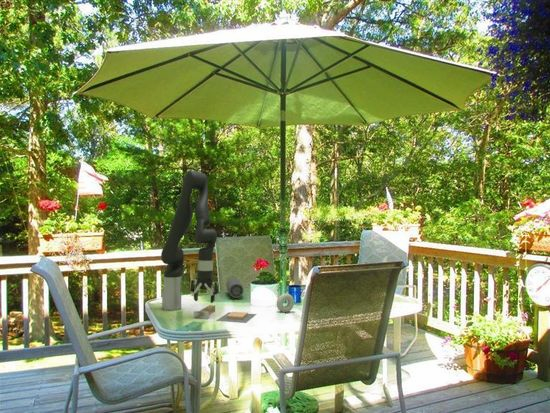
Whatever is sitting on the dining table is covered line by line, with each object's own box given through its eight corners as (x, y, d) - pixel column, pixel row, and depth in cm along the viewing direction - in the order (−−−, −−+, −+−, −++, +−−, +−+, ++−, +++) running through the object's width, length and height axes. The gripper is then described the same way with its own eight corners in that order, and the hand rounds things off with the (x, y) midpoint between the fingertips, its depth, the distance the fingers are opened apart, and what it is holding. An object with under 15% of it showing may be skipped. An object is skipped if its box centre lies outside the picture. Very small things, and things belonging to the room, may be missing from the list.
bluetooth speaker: (225, 292, 295) (225, 277, 295) (240, 292, 297) (240, 276, 297) (228, 300, 273) (228, 283, 273) (244, 299, 274) (244, 282, 274)
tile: (232, 314, 235) (226, 318, 226) (232, 311, 235) (226, 315, 226) (247, 315, 233) (242, 319, 224) (247, 312, 233) (242, 316, 224)
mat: (215, 321, 222) (215, 320, 222) (228, 313, 240) (228, 312, 240) (245, 324, 219) (245, 322, 219) (256, 315, 236) (256, 314, 236)
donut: (291, 310, 247) (291, 292, 247) (295, 312, 244) (295, 293, 244) (275, 312, 242) (275, 293, 242) (278, 314, 239) (278, 294, 239)
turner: (193, 319, 227) (193, 311, 227) (206, 312, 242) (206, 304, 242) (207, 320, 225) (207, 312, 225) (218, 313, 240) (218, 305, 240)
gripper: (188, 269, 230) (187, 301, 230) (215, 271, 226) (214, 304, 227) (195, 267, 237) (194, 298, 238) (221, 269, 234) (220, 301, 234)
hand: (204, 301), depth 232 cm, fingers open, 8 cm apart
